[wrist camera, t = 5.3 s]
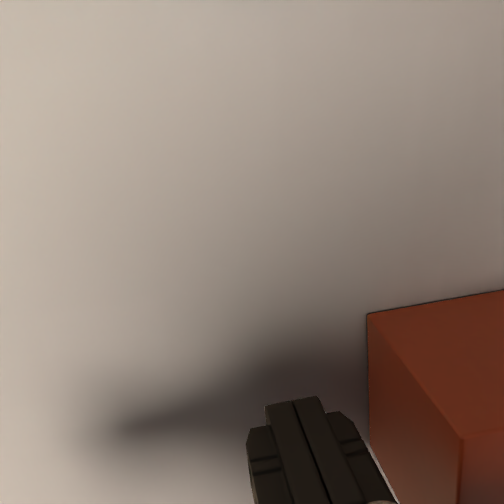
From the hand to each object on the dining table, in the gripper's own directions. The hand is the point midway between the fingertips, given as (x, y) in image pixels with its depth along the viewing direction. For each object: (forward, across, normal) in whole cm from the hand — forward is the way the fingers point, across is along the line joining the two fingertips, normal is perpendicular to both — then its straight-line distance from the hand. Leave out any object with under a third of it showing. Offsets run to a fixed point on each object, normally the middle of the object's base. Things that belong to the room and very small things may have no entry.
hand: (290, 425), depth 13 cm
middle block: (+1, -5, 0) cm, 5 cm away
